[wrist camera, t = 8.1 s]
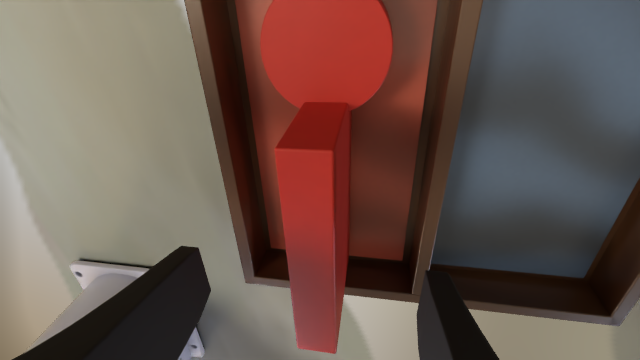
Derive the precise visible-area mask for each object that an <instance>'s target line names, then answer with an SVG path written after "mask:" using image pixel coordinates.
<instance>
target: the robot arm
mask: <svg viewBox="0 0 640 360" xmlns="http://www.w3.org/2000/svg"><path fill="white" fill-rule="evenodd" d="M70 269H71V270H72V272H73V274H74V275H75V277H76V279H77V280H78V282H79V284H80V285H81V287H82V289H83V292H82V293H81V294H80V295H79V296H78V297H77V298H76V299H75V300H74V301H73V302H72V303H71V304H70V305H69V306H68V307H67V308H66V309H65V310H64V311H63V312H62V313H61V314H60V316H59V317H58V318H57V319H56V320H55V321H54V322H53V323H52V324H51V325H50V326H49V327H48V328H47V329H46V330H45V331H44V332H43V333H42V334H41V335H40V336H39V337H38V338H37V339H36V340H35V341H34V343H33V344H32V345H31V346H30V347H29V348H28V349H27V350H26V351H25V352H24V353H23V354H22V355H20V356H18V357H16V358H14V359H12V360H190V358H191V356H194V357H202V356H203V354H204V352H205V350H204V348H203V345H202V342H201V340H200V337H199V334H198V331H197V329H196V325H197V323H198V322H199V319H200V317H201V315H202V312H203V310H204V307H205V305H206V302H207V300H208V297H209V294H210V292H211V288H210V285H209V282H208V278H207V275H206V272H205V268H204V265H203V262H202V258H201V255H200V252H199V248H197V247H187V246H181V247H179V248H178V249H176V250H175V251H174V252H172V253H171V254H169V255H168V256H167V257H165V258H164V259H163V260H161V261H160V262H159V263H157V264H156V265H155V266H153V267H152V268H151V269H149V268H140V267H131V266H122V265H114V264H105V263H96V262H87V261H79V260H75V261H73V262H72V263H71V264H70ZM417 331H418V349H419V357H420V360H499V358H498V357H497V355H496V354H495V352H494V351H493V349H492V347H491V346H490V344H489V343H488V341H487V339H486V338H485V336H484V335H483V333H482V332H481V330H480V328H479V327H478V325H477V323H476V322H475V320H474V318H473V317H472V315H471V313H470V312H469V310H468V308H467V306H466V305H465V303H464V301H463V299H462V297H461V295H460V294H459V292H458V290H457V288H456V286H455V284H454V282H453V280H452V278H451V276H450V275H449V274H448V273H447V272H441V271H430V270H425V274H424V280H423V285H422V290H421V295H420V301H419V306H418V311H417Z"/></svg>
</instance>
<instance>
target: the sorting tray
mask: <svg viewBox="0 0 640 360" xmlns="http://www.w3.org/2000/svg"><path fill="white" fill-rule="evenodd" d="M184 1H185V6H186V10H187V15H188V20H189V24H190V29H191V33H192V38H193V43H194V47H195V52H196V56H197V61H198V66H199V70H200V75H201V79H202V84H203V89H204V93H205V98H206V103H207V107H208V112H209V116H210V121H211V126H212V130H213V135H214V139H215V144H216V149H217V153H218V158H219V162H220V167H221V172H222V176H223V181H224V185H225V190H226V195H227V199H228V204H229V208H230V213H231V218H232V222H233V227H234V231H235V236H236V241H237V245H238V250H239V254H240V259H241V264H242V268H243V273H244V278H245V282H246V283H249V284H259V285H267V286H276V287H285V288H290V280H289V272H288V263H287V254H286V246H285V237H284V228H283V220H282V211H281V202H280V194H279V185H278V176H277V168H276V159H275V150H274V149H275V147H276V145H277V144H278V142H279V141H280V139H281V138H282V136H283V134H284V133H285V131H286V130H287V128H288V127H289V125H290V124H291V122H292V120H293V119H294V117H295V116H296V114H297V113H298V111H299V110H300V108H298V107H296V106H294V105H293V104H291V103H290V102H289V101H287V100H286V99H285V98H284V97H283V96H282V95H281V94H280V93H279V92H278V91H277V90H276V88H275V87H274V85H273V84H272V82H271V81H270V79H269V77H268V75H267V73H266V70H265V68H264V64H263V61H262V56H261V49H260V35H261V28H262V23H263V20H264V17H265V14H266V12H267V10H268V8H269V6H270V4H271V3H272V1H273V0H184ZM382 2H383V4H384V6H385V7H386V10H387V12H388V15H389V18H390V22H391V28H392V36H393V54H392V61H391V64H390V68H389V71H388V73H387V76H386V78H385V80H384V82H383V83H382V85H381V87H380V88H379V89H378V91H377V92H376V93H375V94H374V95H373V96H372V97H371V98H370V99H369V100H368V101H367V102H365V103H364V104H363V105H361V106H359V107H358V108H356V109H353V110H352V126H351V178H350V229H349V258H348V266H347V274H346V281H345V289H344V294H345V295H354V296H363V297H371V298H380V299H388V300H397V301H405V302H415V303H419V301H420V295H421V290H422V285H423V280H424V274H425V270H430V271H441V272H447V273H448V274H449V275H450V276H451V278H452V280H453V282H454V284H455V286H456V288H457V290H458V292H459V294H460V295H461V297H462V299H463V301H464V303H465V305H466V306H467V308H468V309H474V310H483V311H492V312H500V313H510V314H518V315H526V316H535V317H544V318H553V319H561V320H569V321H578V322H587V323H596V324H604V325H612V326H620V325H621V323H622V322H623V321H624V319H625V318H626V316H627V315H628V314H629V312H630V311H631V309H632V308H633V307H634V305H635V304H636V302H637V301H638V300H639V298H640V0H382Z"/></svg>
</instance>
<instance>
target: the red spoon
mask: <svg viewBox="0 0 640 360" xmlns="http://www.w3.org/2000/svg"><path fill="white" fill-rule="evenodd" d="M260 49H261V56H262V61H263V64H264V68H265V70H266V73H267V75H268V77H269V79H270V81H271V82H272V84H273V85H274V87H275V88H276V90H277V91H278V92H279V93H280V94H281V95H282V96H283V97H284V98H285V99H286V100H287V101H289V102H290V103H291V104H293V105H294V106H296V107H298V108H300V110H299V111H298V113H297V114H296V116H295V117H294V119H293V120H292V122H291V124H290V125H289V127H288V128H287V130H286V131H285V133H284V134H283V136H282V138H281V139H280V141H279V142H278V144H277V145H276V147H275V149H274V150H275V159H276V168H277V176H278V185H279V194H280V202H281V211H282V220H283V228H284V237H285V246H286V254H287V263H288V272H289V280H290V289H291V297H292V306H293V315H294V323H295V332H296V341H297V348H299V349H306V350H313V351H320V352H327V353H333V354H335V353H336V351H337V343H338V335H339V328H340V320H341V312H342V304H343V297H344V289H345V281H346V274H347V266H348V258H349V229H350V178H351V126H352V110H353V109H356V108H358V107H359V106H361V105H363V104H364V103H365V102H367V101H368V100H369V99H370V98H371V97H372V96H373V95H374V94H375V93H376V92H377V91H378V89H379V88H380V87H381V85H382V83H383V82H384V80H385V78H386V76H387V73H388V71H389V68H390V64H391V61H392V54H393V36H392V28H391V22H390V18H389V15H388V12H387V10H386V7H385V6H384V4H383V2H382V0H273V1H272V3H271V4H270V6H269V8H268V10H267V12H266V14H265V17H264V20H263V23H262V28H261V35H260Z"/></svg>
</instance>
